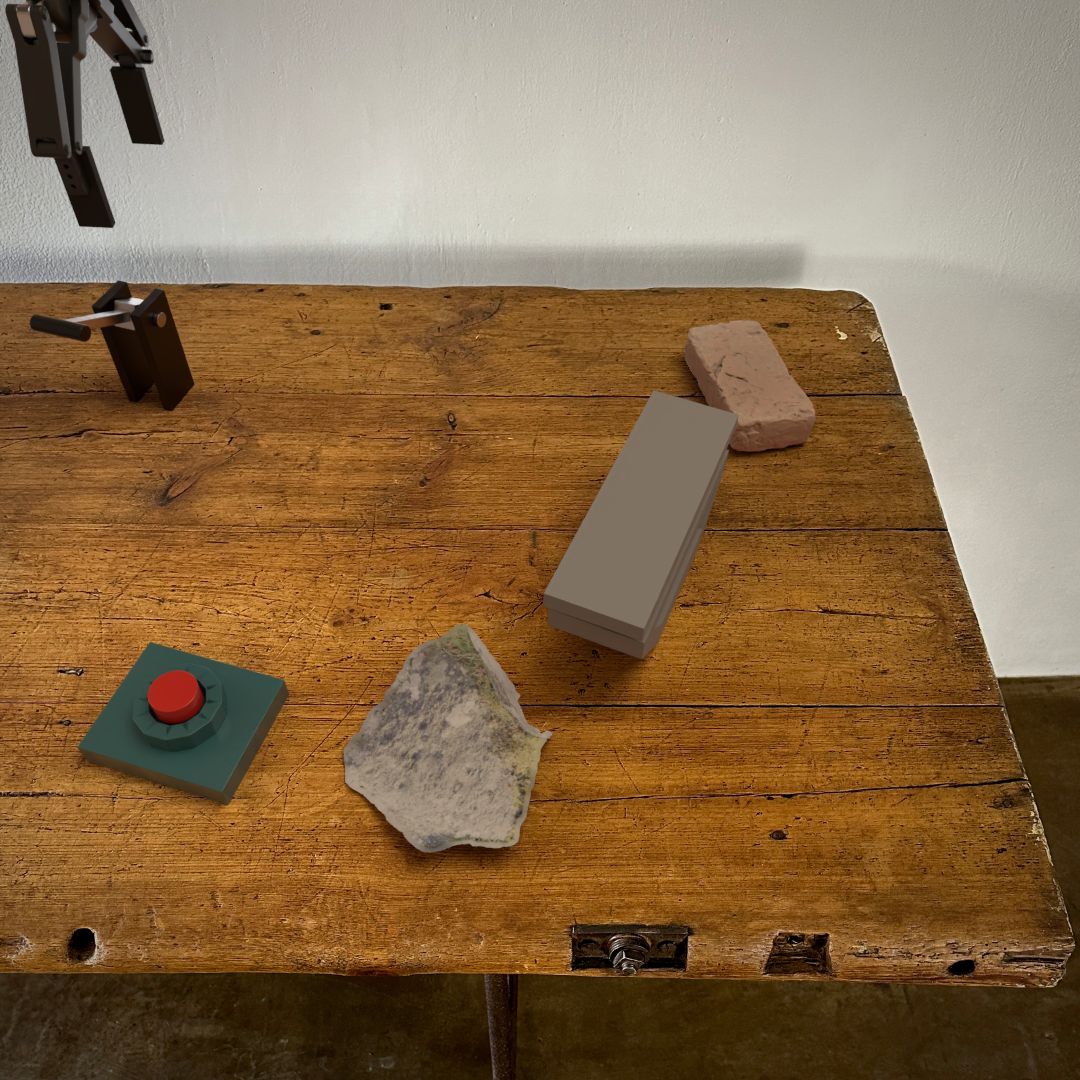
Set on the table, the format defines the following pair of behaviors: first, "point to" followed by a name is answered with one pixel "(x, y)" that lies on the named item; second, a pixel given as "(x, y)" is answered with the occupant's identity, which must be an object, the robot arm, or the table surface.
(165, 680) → the button
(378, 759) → the rock fragment
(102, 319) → the lever
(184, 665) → the control block
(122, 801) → the table surface
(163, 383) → the bracket
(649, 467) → the sharpening stone
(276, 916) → the table surface
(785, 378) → the brick
